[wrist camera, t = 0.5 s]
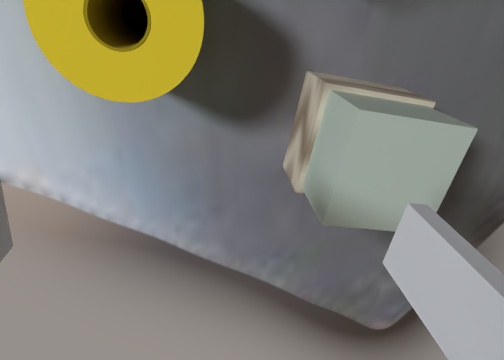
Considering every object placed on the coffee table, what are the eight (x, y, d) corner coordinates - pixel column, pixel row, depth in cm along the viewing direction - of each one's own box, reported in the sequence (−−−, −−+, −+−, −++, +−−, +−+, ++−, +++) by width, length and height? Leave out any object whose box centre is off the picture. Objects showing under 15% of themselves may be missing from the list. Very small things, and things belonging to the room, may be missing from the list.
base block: (306, 70, 32) (326, 82, 27) (399, 87, 34) (435, 102, 29) (282, 165, 36) (295, 192, 31) (366, 175, 38) (392, 202, 33)
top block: (329, 89, 27) (359, 109, 22) (427, 106, 29) (478, 128, 24) (301, 187, 31) (321, 225, 26) (389, 197, 33) (425, 234, 27)
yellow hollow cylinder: (186, 90, 31) (180, 121, 23) (71, 53, 29) (17, 72, 20) (219, -28, 27) (225, -42, 19) (88, -84, 25) (30, -128, 17)
